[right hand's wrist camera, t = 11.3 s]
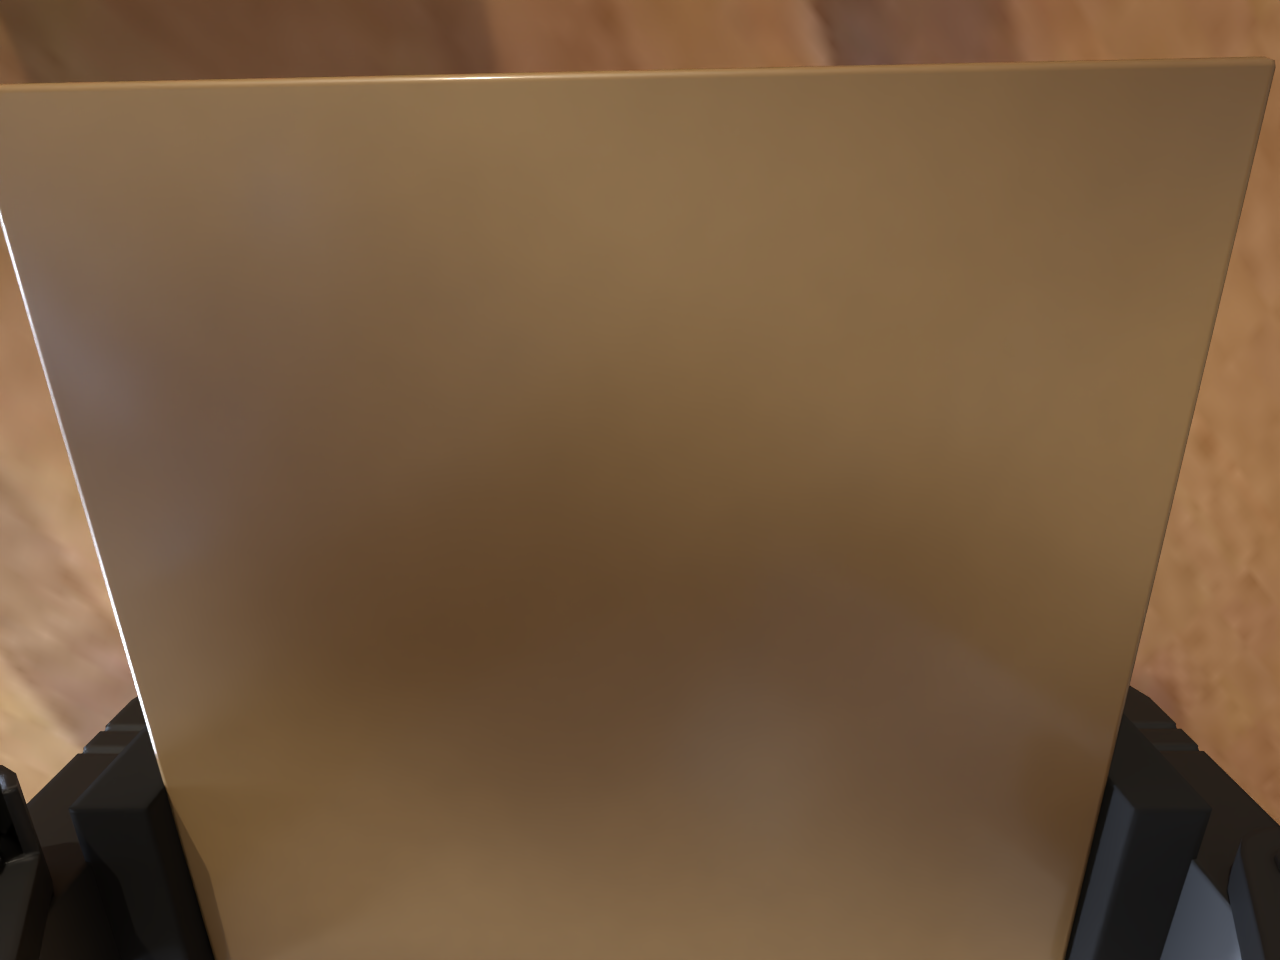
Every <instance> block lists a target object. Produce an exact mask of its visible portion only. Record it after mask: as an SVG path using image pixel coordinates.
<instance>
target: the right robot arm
mask: <svg viewBox="0 0 1280 960" xmlns="http://www.w3.org/2000/svg"><path fill="white" fill-rule="evenodd" d="M0 960H215V959H214V955H213V952H212V948H211V945H210V942H209V938H208V935H207V931H206V928H205V924H204V921H203V917H202V914H201V911H200V907H199V904H198V900H197V897H196V893H195V890H194V887H193V883H192V880H191V876H190V873H189V869H188V866H187V862H186V859H185V856H184V852H183V849H182V845H181V842H180V838H179V835H178V832H177V828H176V825H175V821H174V817H173V814H172V810H171V807H170V803H169V799H168V796H167V792H166V788H165V786H164V783H163V780H162V776H161V773H160V770H159V766H158V763H157V759H156V756H155V752H154V749H153V746H152V742H151V739H150V735H149V732H148V728H147V725H146V721H145V718H144V715H143V711H142V708H141V704H140V701H139V697H136V698H134V699H133V700H131V701H130V702H129V703H128V704H127V705H126V706H125V707H124V708H123V709H122V710H121V711H120V712H119V713H118V714H117V715H116V716H115V717H114V718H113V719H112V720H111V721H110V722H109V723H108V724H107V725H106V729H105V731H100V732H99V733H98V734H97V735H96V736H95V737H94V738H93V739H92V740H91V741H90V742H89V743H88V744H87V745H86V746H85V747H84V751H83V753H82V754H77V755H76V756H75V757H74V758H73V759H72V760H71V761H70V762H69V763H68V764H67V765H66V766H65V767H64V768H63V769H62V770H61V771H60V772H59V773H58V774H57V775H56V776H55V777H54V778H53V779H52V780H51V781H50V782H49V783H48V784H47V785H46V786H45V787H44V788H43V789H42V790H41V791H40V792H39V793H38V794H37V795H36V796H35V797H34V798H33V799H32V800H31V801H30V802H29V803H28V804H26V802H25V799H24V796H23V793H22V790H21V787H20V784H19V781H18V778H17V775H16V773H14V772H13V771H11V770H9V769H8V768H6V767H4V766H3V765H0ZM1065 960H1280V826H1279V825H1278V824H1277V823H1276V822H1275V821H1274V820H1273V819H1272V818H1271V817H1270V816H1269V815H1268V814H1267V813H1266V812H1265V811H1264V810H1263V809H1262V808H1261V807H1260V806H1259V805H1258V804H1257V803H1256V802H1255V801H1254V800H1253V799H1252V798H1251V797H1250V796H1249V795H1248V794H1247V793H1246V792H1245V791H1244V790H1243V789H1242V788H1241V787H1240V786H1239V785H1238V784H1237V783H1236V782H1235V781H1234V780H1233V779H1232V778H1231V777H1230V776H1229V775H1228V774H1227V773H1226V772H1225V771H1224V770H1223V769H1222V768H1220V767H1219V766H1218V765H1217V764H1216V763H1215V762H1214V761H1213V760H1212V759H1211V758H1210V757H1209V756H1208V755H1207V754H1206V753H1205V752H1204V751H1199V750H1198V745H1197V744H1196V743H1195V742H1194V741H1193V740H1192V739H1191V738H1190V737H1189V736H1188V735H1187V734H1186V733H1185V732H1184V731H1183V730H1182V729H1177V728H1176V723H1175V722H1174V721H1173V720H1172V719H1171V718H1170V717H1169V716H1168V715H1167V714H1166V713H1165V712H1164V711H1163V710H1162V709H1161V708H1160V707H1159V706H1158V705H1157V704H1156V703H1155V702H1153V701H1152V700H1151V699H1150V698H1149V697H1148V696H1146V695H1144V694H1143V693H1141V692H1139V691H1138V690H1136V689H1134V688H1133V687H1131V686H1129V689H1128V693H1127V697H1126V702H1125V706H1124V710H1123V714H1122V719H1121V723H1120V727H1119V731H1118V736H1117V740H1116V744H1115V748H1114V753H1113V757H1112V761H1111V765H1110V769H1109V774H1108V778H1107V782H1106V786H1105V791H1104V795H1103V799H1102V803H1101V808H1100V812H1099V816H1098V820H1097V824H1096V829H1095V833H1094V837H1093V841H1092V846H1091V850H1090V854H1089V858H1088V863H1087V867H1086V871H1085V875H1084V880H1083V884H1082V888H1081V892H1080V896H1079V901H1078V905H1077V909H1076V913H1075V918H1074V922H1073V926H1072V930H1071V935H1070V939H1069V943H1068V947H1067V951H1066V956H1065Z"/></svg>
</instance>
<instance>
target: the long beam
mask: <svg viewBox="0 0 1280 960" xmlns="http://www.w3.org/2000/svg"><path fill="white" fill-rule="evenodd" d="M1274 71H1275V60H1272V59H1270V58H1267V57H1228V58H1181V59H1135V60H1089V61H1043V62H997V63H951V64H904V65H858V66H812V67H766V68H720V69H674V70H628V71H581V72H535V73H489V74H443V75H397V76H351V77H304V78H258V79H212V80H166V81H120V82H74V83H27V84H0V223H1V226H2V230H3V233H4V237H5V240H6V243H7V247H8V250H9V254H10V257H11V261H12V264H13V268H14V271H15V274H16V278H17V281H18V285H19V288H20V292H21V295H22V299H23V302H24V305H25V309H26V312H27V316H28V319H29V323H30V326H31V329H32V333H33V336H34V340H35V343H36V347H37V350H38V354H39V357H40V360H41V364H42V367H43V371H44V374H45V378H46V381H47V384H48V388H49V391H50V395H51V398H52V402H53V405H54V409H55V412H56V415H57V419H58V422H59V426H60V429H61V433H62V436H63V439H64V443H65V446H66V450H67V453H68V457H69V460H70V464H71V467H72V470H73V474H74V477H75V481H76V484H77V488H78V491H79V495H80V498H81V501H82V505H83V508H84V512H85V515H86V519H87V522H88V525H89V529H90V532H91V536H92V539H93V543H94V546H95V550H96V553H97V556H98V560H99V563H100V567H101V570H102V574H103V577H104V580H105V584H106V587H107V591H108V594H109V598H110V601H111V605H112V608H113V611H114V615H115V618H116V622H117V625H118V629H119V632H120V636H121V639H122V642H123V646H124V649H125V653H126V656H127V660H128V663H129V666H130V670H131V673H132V677H133V680H134V684H135V687H136V691H137V694H138V697H139V701H140V704H141V708H142V711H143V715H144V718H145V721H146V725H147V728H148V732H149V735H150V739H151V742H152V746H153V749H154V752H155V756H156V759H157V763H158V766H159V770H160V773H161V776H162V780H163V783H164V786H165V788H166V792H167V796H168V799H169V803H170V807H171V810H172V814H173V817H174V821H175V825H176V828H177V832H178V835H179V838H180V842H181V845H182V849H183V852H184V856H185V859H186V862H187V866H188V869H189V873H190V876H191V880H192V883H193V887H194V890H195V893H196V897H197V900H198V904H199V907H200V911H201V914H202V917H203V921H204V924H205V928H206V931H207V935H208V938H209V942H210V945H211V948H212V952H213V955H214V959H215V960H1065V956H1066V951H1067V947H1068V943H1069V939H1070V935H1071V930H1072V926H1073V922H1074V918H1075V913H1076V909H1077V905H1078V901H1079V896H1080V892H1081V888H1082V884H1083V880H1084V875H1085V871H1086V867H1087V863H1088V858H1089V854H1090V850H1091V846H1092V841H1093V837H1094V833H1095V829H1096V824H1097V820H1098V816H1099V812H1100V808H1101V803H1102V799H1103V795H1104V791H1105V786H1106V782H1107V778H1108V774H1109V769H1110V765H1111V761H1112V757H1113V753H1114V748H1115V744H1116V740H1117V736H1118V731H1119V727H1120V723H1121V719H1122V714H1123V710H1124V706H1125V702H1126V697H1127V693H1128V689H1129V685H1130V681H1131V676H1132V672H1133V668H1134V664H1135V659H1136V655H1137V651H1138V647H1139V642H1140V638H1141V634H1142V630H1143V626H1144V621H1145V617H1146V613H1147V609H1148V604H1149V600H1150V596H1151V592H1152V587H1153V583H1154V579H1155V575H1156V571H1157V566H1158V562H1159V558H1160V554H1161V549H1162V545H1163V541H1164V537H1165V532H1166V528H1167V524H1168V520H1169V515H1170V511H1171V507H1172V503H1173V499H1174V494H1175V490H1176V486H1177V482H1178V477H1179V473H1180V469H1181V465H1182V460H1183V456H1184V452H1185V448H1186V444H1187V439H1188V435H1189V431H1190V427H1191V422H1192V418H1193V414H1194V410H1195V405H1196V401H1197V397H1198V393H1199V388H1200V384H1201V380H1202V376H1203V372H1204V367H1205V363H1206V359H1207V355H1208V350H1209V346H1210V342H1211V338H1212V333H1213V329H1214V325H1215V321H1216V317H1217V312H1218V308H1219V304H1220V300H1221V295H1222V291H1223V287H1224V283H1225V278H1226V274H1227V270H1228V266H1229V261H1230V257H1231V253H1232V249H1233V245H1234V240H1235V236H1236V232H1237V228H1238V223H1239V219H1240V215H1241V211H1242V206H1243V202H1244V198H1245V194H1246V190H1247V185H1248V181H1249V177H1250V173H1251V168H1252V164H1253V160H1254V156H1255V151H1256V147H1257V143H1258V139H1259V134H1260V130H1261V126H1262V122H1263V118H1264V113H1265V109H1266V105H1267V101H1268V96H1269V92H1270V88H1271V84H1272V79H1273V75H1274Z"/></svg>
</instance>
